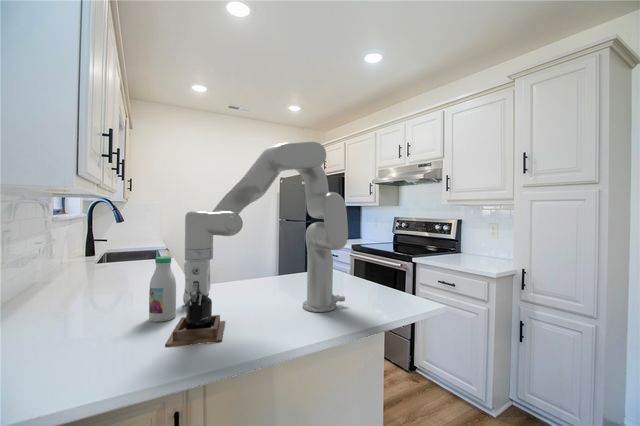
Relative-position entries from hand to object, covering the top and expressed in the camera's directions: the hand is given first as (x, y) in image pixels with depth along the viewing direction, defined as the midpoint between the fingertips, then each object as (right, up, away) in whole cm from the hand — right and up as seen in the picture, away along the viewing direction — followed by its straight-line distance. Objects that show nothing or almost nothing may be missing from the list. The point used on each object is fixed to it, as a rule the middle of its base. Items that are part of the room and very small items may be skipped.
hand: (198, 313), depth 85 cm
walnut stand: (0, -6, 0) cm, 6 cm away
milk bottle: (-16, -6, +11) cm, 21 cm away
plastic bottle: (-13, -6, +26) cm, 29 cm away
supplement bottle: (0, -5, 0) cm, 5 cm away
